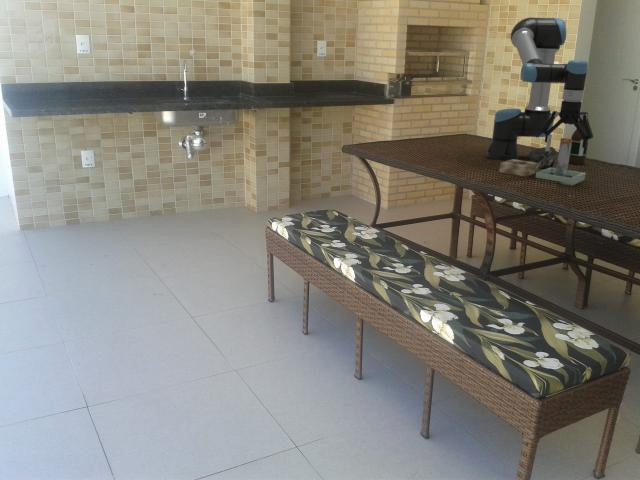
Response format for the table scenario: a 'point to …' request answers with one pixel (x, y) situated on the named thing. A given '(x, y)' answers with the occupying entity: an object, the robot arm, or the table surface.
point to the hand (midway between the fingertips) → (563, 153)
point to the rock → (543, 157)
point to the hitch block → (519, 167)
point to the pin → (563, 157)
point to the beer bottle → (577, 146)
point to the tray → (562, 180)
